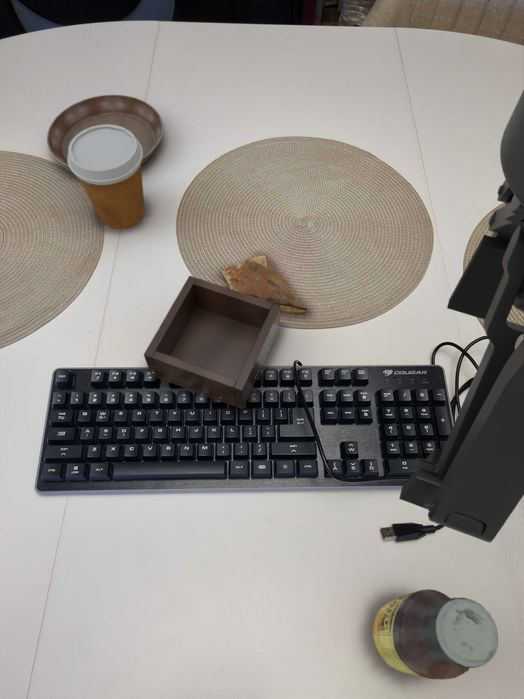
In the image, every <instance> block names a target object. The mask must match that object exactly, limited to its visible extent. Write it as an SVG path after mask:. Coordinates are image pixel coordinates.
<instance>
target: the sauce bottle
mask: <svg viewBox="0 0 524 699" xmlns="http://www.w3.org/2000/svg"><path fill="white" fill-rule="evenodd" d="M372 637H373V642H374V645H375V648H376V651H377V653H378V655H379V656H380V657H381V659H382V660H383V661H384V662H385V664H386V665H388V666H389V667H391V668H392V669H394V670H396V671H398V672H401V673H404V674H407V675H412V676H417V677H421V678H425V679H429V680H450V679H455V678H459V677H460V676H462V675H464V674H465V673H466V672H468V671H469V670H470V669H475V668H480V667H482V666H485V665H486V664H487V663H489V662H490V661H491V660H492V659H493V658H494V656H495V654H496V652H497V650H498V646H499V633H498V627H497V625H496V622H495V620H494V618H493V617H492V615H491V613H490V612H489V611H488V610H487V609H486V608H485V607H484V606H483V605H482V604H481V603H479V602H477V601H476V600H473V599H470V598H466V597H452V598H451V597H450V596H448V595H447V594H445V593H444V592H442V591H439V590H437V589H421V590H417V591H414V592H410V593H408V594H404V595H402V596H400V597H397V598H394V599H392V600H390V601H388V602H387V603H385V604H384V605H382V606H381V607H380V609H379V610H378V612H377V613H376V615H375V618H374V620H373V623H372Z"/></svg>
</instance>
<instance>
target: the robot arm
mask: <svg viewBox="0 0 524 699" xmlns="http://www.w3.org/2000/svg"><path fill="white" fill-rule="evenodd" d="M499 159H500V165H501V169H502V174H503V176H504V179H505V180H504V182H503V183H502V184H500V185H499V187H498V188H497V193H496V194H497V199H496V200H497V201H498V202H500V203H504V206H503V205H502V206H501V207H499V208H497V209H496V210H495V211H493V213H492V215H491V216H490V217H489V219H488V231H489V232H492V234H491V235H487V234H484V235H483V236H482V238H481V240H480V241H479V243H478V246H477V247H476V249H475V250H474V253H473V254H472V256H471V258H470V260H469V262H468V264H467V265H466V268H465V270H464V271H463V273H462V275H461V276H460V279H459V280H458V282H457V284H456V286H455V288H454V290H453V292H452V293H451V295H450V297H449V299H448V302H447V307H446V308H447V309H448V310H452V311H455V312H459V313H461V314H465V315H467V316H472V317H475V318H477V319H482V320H483V324H482V326H483V329H484V330H483V331H484V333H485V335H486V337H487V339H488V340H489V342H488V344H487V347H486V349H485V350H484V353H483V356H482V358H481V361H480V362H479V365H478V367H477V369H476V372H475V374H474V377H473V379H472V381H471V383H470V386H469V388H468V391H467V394H466V395H465V398H464V401H463V402H462V405H461V407H460V410H459V412H458V414H457V417H456V419H455V421H454V423H453V425H452V428H451V430H450V433H449V435H448V438H447V439H446V442H445V444H444V446H443V449H442V448H437V447H435V448H434V449H433V450H432V451H431V452H430V453H429V455H427V457H426V458H422V457H420V458H419V461H418V464H417V468H416V469H415V471H414V472H413V473H412V475H411V476H410V477H409V478H408V479H407V480H406V481H405V482H404V484H403V485H402V486H401V489H400V493H399V498H398V499H399V500H401V501H403V502H407V503H410V504H412V505H415V506H418V507H420V508H422V509H426V510H427V511H428V513H427V517H428V521H430V522H433V523H435V524H436V525H437V524H438V525H440V526H442V527H444V528H445V527H446V528H448V529H451V530H454V531H456V532H459V533H462V534H465V535H468V536H470V537H472V538H476V539H478V540H481V541H483V542H487V543H492V542H493V541H494V540H495V538H496V536H497V535H498V533H499V532H500V531H501V530H502V528H503V527H504V525H505V524H506V522H507V521H508V519H509V518H510V516H511V514H512V513H513V512H514V510H515V508H517V507H518V505H519V503H520V501H522V499H523V497H524V325H522V324H519V323H516V322H513V321H510V320H508V317H509V315H510V313H511V310H512V308H513V307H514V308H515V309H517V310H518V311H520V312H523V313H524V89H523V90H522V92H521V95H520V96H519V99H518V100H517V103H516V105H515V107H514V109H513V111H512V114H511V115H510V118H509V120H508V122H507V124H506V126H505V128H504V131H503V134H502V137H501V141H500V147H499Z"/></svg>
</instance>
